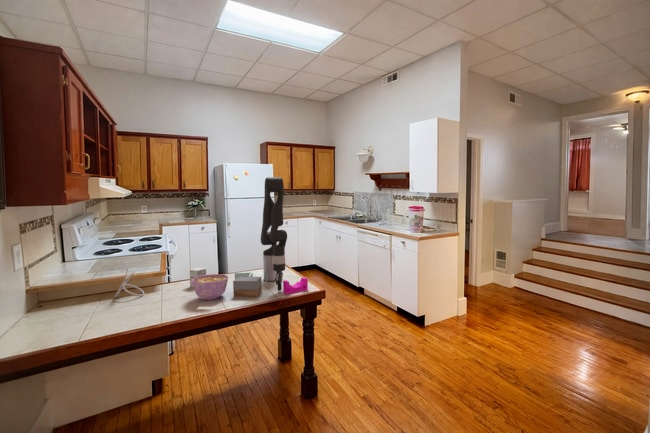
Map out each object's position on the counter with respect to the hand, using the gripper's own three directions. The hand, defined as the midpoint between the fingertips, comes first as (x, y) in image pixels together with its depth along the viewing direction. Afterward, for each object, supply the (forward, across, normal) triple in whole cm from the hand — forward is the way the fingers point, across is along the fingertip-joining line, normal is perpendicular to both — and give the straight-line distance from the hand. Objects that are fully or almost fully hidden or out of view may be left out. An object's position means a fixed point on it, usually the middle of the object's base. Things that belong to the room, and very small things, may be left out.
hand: (279, 290), depth 188 cm
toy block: (+2, -3, +9) cm, 10 cm away
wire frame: (+4, +12, -90) cm, 91 cm away
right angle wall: (+1, -14, -28) cm, 31 cm away
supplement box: (+1, -8, -55) cm, 56 cm away
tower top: (-4, +6, -18) cm, 19 cm away
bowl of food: (+1, +12, -38) cm, 40 cm away
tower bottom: (+1, +6, -18) cm, 19 cm away
